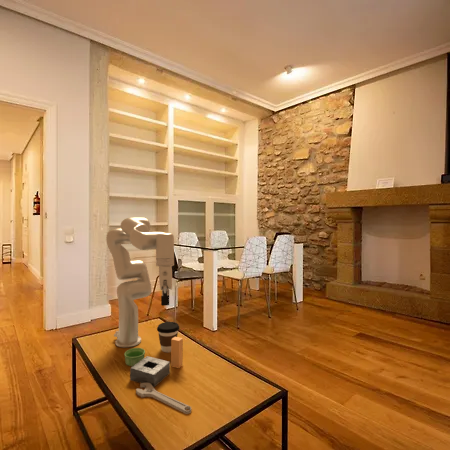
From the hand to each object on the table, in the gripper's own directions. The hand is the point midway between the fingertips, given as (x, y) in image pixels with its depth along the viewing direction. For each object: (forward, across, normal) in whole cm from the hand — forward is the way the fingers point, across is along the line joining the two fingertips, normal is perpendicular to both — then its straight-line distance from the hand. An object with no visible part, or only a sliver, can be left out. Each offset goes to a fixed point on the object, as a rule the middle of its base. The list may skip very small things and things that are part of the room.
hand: (165, 301), depth 122 cm
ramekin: (+29, +9, +14) cm, 34 cm away
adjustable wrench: (+30, -20, +2) cm, 36 cm away
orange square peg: (+29, +3, -5) cm, 30 cm away
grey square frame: (+29, -4, +6) cm, 30 cm away
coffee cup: (+29, +19, -1) cm, 35 cm away
